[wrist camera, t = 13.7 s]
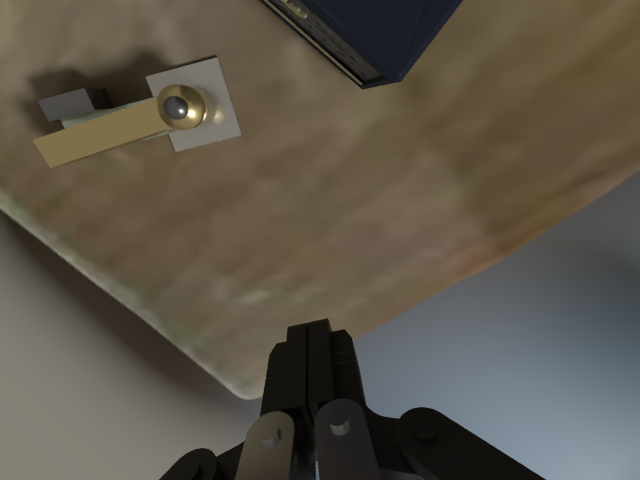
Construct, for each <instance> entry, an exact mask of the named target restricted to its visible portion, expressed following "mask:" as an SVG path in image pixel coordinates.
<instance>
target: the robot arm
mask: <svg viewBox="0 0 640 480" xmlns="http://www.w3.org/2000/svg"><path fill="white" fill-rule="evenodd" d="M315 461H318V469H319V478H320V480H546V479H544V478H542V477H541V476H539V475H538V474H536V473H534V472H533V471H531V470H530V469H528V468H527V467H525V466H524V465H522V464H520V463H519V462H517V461H516V460H514V459H512V458H511V457H509V456H508V455H506V454H505V453H503V452H501V451H500V450H498V449H497V448H495V447H494V446H492V445H490V444H489V443H487V442H486V441H484V440H483V439H481V438H479V437H478V436H476V435H475V434H473V433H471V432H470V431H468V430H467V429H465V428H464V427H462V426H460V425H459V424H457V423H456V422H454V421H452V420H451V419H449V418H448V417H446V416H445V415H443V414H442V413H440V412H438V411H436V410H434V409H431V408H424V407H419V408H414V409H411V410H408V411H407V412H405V413H404V414H403V415H402V416H401V417H400V419H397V418H389V417H384V416H380V415H378V414H376V413H374V412H373V411H371V410H370V409H369V408H368V407H367V406H366V402H365V396H364V391H363V385H362V380H361V375H360V369H359V365H358V361H357V357H356V353H355V349H354V345H353V341H352V337H351V336H350V335H349V334H348V333H347V332H346V331H345V329H343V330H339V331H334V332H332V330H331V326H330V323H329V320H328V318H327V319H322V320H317V321H313V322H309V323H304V324H299V325H294V326H290V327H288V330H287V341H286V342H282V343H277V344H276V345H275V347H274V349H273V350H272V352H271V353H270V355H269V361H268V369H267V374H266V380H265V387H264V393H263V400H262V407H261V413H260V418H258V419H257V420H256V421H255V422H254V423H253V424H252V426H251V427H250V429H249V431H248V432H247V435H246V438H245V441H244V442H242V443H241V444H239V445H238V446H236V447H234V448H232V449H230V450H228V451H226V452H224V453H223V454H221V455H219V456H217V457H216V456H215V454H214V453H213V452H212V451H211V450H209V449H206V448H200V449H195V450H193V451H191V452H188V453H187V454H185V455H184V456H182V457H181V458H180V459H179V460H178V461H177V462H176V463H175V464H174V465H173V466H172V467H171V468H170V469H169V470H168V471H167V472H166V473H165V474H164V475H163V476H162V477H161V478H160V479H159V480H316V467H315V465H316V464H315V463H316V462H315Z"/></svg>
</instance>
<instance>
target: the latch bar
mask: <svg viewBox="0 0 640 480" xmlns="http://www.w3.org/2000/svg"><path fill="white" fill-rule="evenodd" d="M170 96H179V97H181V98H183V99H184V100H185V101H186V102H187V104H188V107H189V112H188V115H187V116H186V117H185V118H184V119H180V120H174V119H171V118H169V117H168V116H167V115H166V113H165V112H164V109H163V103H164V101H165V99H166V98H167V97H170ZM212 115H213V104H212V101H211V99H210V97H209V96H208V94H207V93H206V92H205V91H203V90H202V89H200V88H198V87H195V86H187V85H179V84H171V85H168V86H166V87H164V88H163V89H162V90H161V91H160V93H159V94H158V97H156V98H154V99H151V100H148V101H145V102H142V103H139V104H136V105H133V106H130V107H127V108H125V109H122V110H119V111H116V112H113V113H110V114H107V115H104V116H101V117H98V118H95V119H93V120H90V121H87V122H84V123H81V124H78V125H75V126H72V127H69V128H66V129H64V130H61V131H58V132H55V133H52V134H49V135H46V136H43V137H40V138H37V139H34V140H33V141H34V143H35V144H36V146H37V147H38V149H39V151H40V152H41V154H42V155H43V157H44V159H45V160H46V162H47V163H48V165H49V166H50V168H52V167H56V166H60V165H64V164H68V163H72V162H75V161H79V160H82V159H85V158H88V157H91V156H94V155H97V154H100V153H103V152H106V151H109V150H112V149H115V148H118V147H121V146H124V145H127V144H130V143H133V142H136V141H139V140H142V139H145V138H148V137H151V136H154V135H157V134H160V133H163V132H166V131H169V130H172V129H176V130H188V129H192V128H196V127H200V126H203V125H205V124H207V123H208V122H209V121H210V119H211V117H212Z"/></svg>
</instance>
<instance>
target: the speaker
mask: <svg viewBox="0 0 640 480" xmlns="http://www.w3.org/2000/svg"><path fill="white" fill-rule="evenodd" d="M260 1H261V2H262V3H264V4H265V5H266V6H267V7H268V8H269V9H270V10H272V11H273V12H274V13H275V14H276V15H277V16H279V17H280V18H281V19H282V20H283V21H284V22H285V23H287V24H288V25H289V26H290V27H291V28H292V29H293V30H295V31H296V32H297V33H298V34H299V35H300V36H301V37H303V38H304V39H305V40H306V41H307V42H308V43H310V44H311V45H312V46H313V47H314V48H315V49H316V50H318V51H319V52H320V53H321V54H322V55H323V56H324V57H326V58H327V59H328V60H329V61H330V62H331V63H333V64H334V65H335V66H336V67H337V68H338V69H339V70H341V71H342V72H343V73H344V74H345V75H346V76H347V77H349V78H350V79H351V80H352V81H353V82H354V83H355V84H357V85H358V86H359V87H360V88H361V89H367V88H372V87H377V86H382V85H387V84H392V83H396V82H401V81H402V79H403V78H404V77H405V75H406V74H407V73H408V72H409V70H410V69H411V68H412V66H413V65H414V64H415V62H416V61H417V60H418V58H419V57H420V56H421V55H422V53H423V52H424V51H425V49H426V48H427V47H428V45H429V44H430V43H431V41H432V40H433V39H434V38H435V36H436V35H437V34H438V32H439V31H440V30H441V28H442V27H443V26H444V24H445V23H446V22H447V21H448V19H449V18H450V17H451V15H452V14H453V13H454V11H455V10H456V9H457V7H458V6H459V5H460V4H461V2H462V1H463V0H260Z"/></svg>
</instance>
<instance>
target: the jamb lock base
mask: <svg viewBox="0 0 640 480" xmlns="http://www.w3.org/2000/svg"><path fill="white" fill-rule="evenodd" d="M146 80H147V82H148V85H149V87H150V90H151V92H152V95H153V98H149V99H145V100H142V101H138V102H134V103H130V104H126V105H123V106H119V107H115V108H113V107H112V105H111V103H110V100H109V98H108V96H107V94H106V92H105V89H94V88H82V89H79V90H75V91H71V92H68V93H64V94H60V95H57V96H53V97H49V98H46V99H42V100H38V103H39V105H40V106H41V108H42V110H43V112H44V114H45V116H46V118H47V120H48V121H49V122H55V121H63V122H62V124H63V126H64V128H65V129H66V128H69V127H72V126H75V125H78V124H81V123H84V122H87V121H90V120H93V119H95V118H98V117H101V116H104V115H107V114H110V113H113V112H116V111H119V110H122V109H125V108H127V107H130V106H133V105H136V104H139V103H142V102H145V101H148V100H151V99H154V98H156V97H158V94H159V93H160V91H161V90H162V89H163V88H164V87H166V86H168V85H171V84H179V85H187V86H195V87H198V88H200V89H202V90H203V91H205V92H206V93H207V94H208V96H209V97H210V99H211V101H212V104H213V115H212V117H211V119H210V121H209V122H208V123H207V124H205V125H203V126H200V127H196V128H192V129H188V130H176V129H172V130H169V131H166V132H163V133H160V134H157V135H154V136H151V137H148V138H145V139H142V140H146V139H150V138H154V137H158V136H162V135H165V134H169V137H170V139H171V142H172V144H173V147H174V149H175V152H177V151H181V150H185V149H189V148H193V147H197V146H201V145H205V144H208V143H212V142H216V141H220V140H224V139H228V138H232V137H236V136H240V135H242V132H241V129H240V126H239V122H238V119H237V116H236V113H235V110H234V107H233V103H232V100H231V97H230V94H229V91H228V88H227V84H226V81H225V78H224V75H223V72H222V69H221V65H220V62H219V59H218V57H216V58H213V59H209V60H205V61H202V62H198V63H194V64H190V65H187V66H183V67H179V68H176V69H172V70H168V71H165V72H161V73H157V74H154V75H150V76H146ZM163 109H164V112H165V113H166V115H167V116H168V117H169V118H171V119H174V120H180V119H184V118H185V117H186V116H187V115H188V112H189V107H188V104H187V102H186V101H185V100H184V99H183V98H181V97H179V96H170V97H167V98H166V99H165V101H164V103H163ZM142 140H139V141H142ZM136 142H138V141H136ZM133 143H134V142H133Z"/></svg>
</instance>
